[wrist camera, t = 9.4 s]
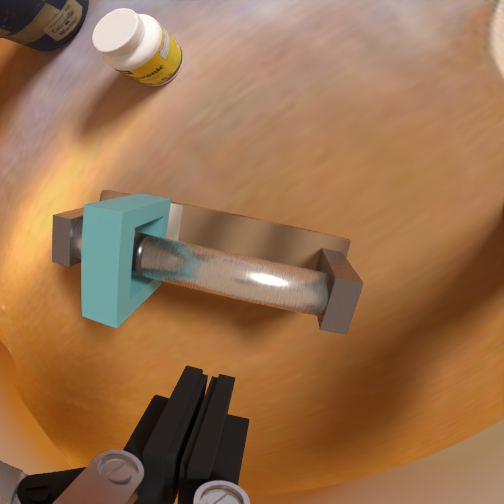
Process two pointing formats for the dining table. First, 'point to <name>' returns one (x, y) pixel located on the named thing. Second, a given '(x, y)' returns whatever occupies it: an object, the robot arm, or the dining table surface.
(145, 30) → the supplement bottle
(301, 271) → the rail
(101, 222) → the teal rectangular frame
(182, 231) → the base board
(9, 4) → the canister
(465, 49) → the dining table surface
